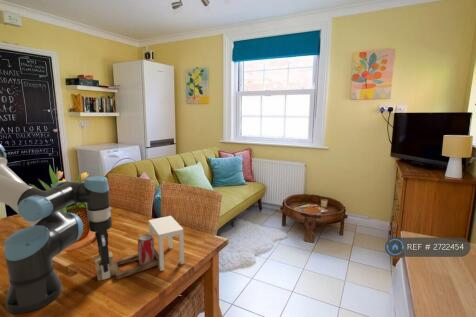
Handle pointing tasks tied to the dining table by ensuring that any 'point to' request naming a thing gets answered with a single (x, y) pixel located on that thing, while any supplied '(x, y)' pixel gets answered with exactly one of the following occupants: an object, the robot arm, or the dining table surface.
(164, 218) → the white stool
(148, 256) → the beverage can
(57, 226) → the robot arm
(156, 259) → the pull frame
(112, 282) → the dining table surface
